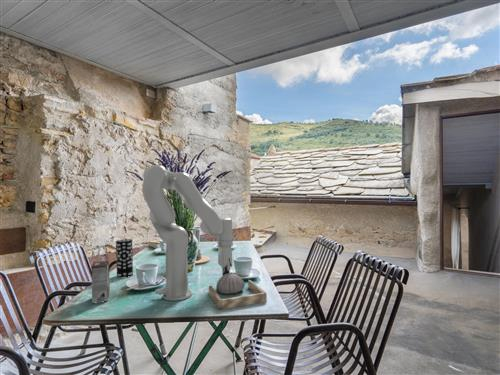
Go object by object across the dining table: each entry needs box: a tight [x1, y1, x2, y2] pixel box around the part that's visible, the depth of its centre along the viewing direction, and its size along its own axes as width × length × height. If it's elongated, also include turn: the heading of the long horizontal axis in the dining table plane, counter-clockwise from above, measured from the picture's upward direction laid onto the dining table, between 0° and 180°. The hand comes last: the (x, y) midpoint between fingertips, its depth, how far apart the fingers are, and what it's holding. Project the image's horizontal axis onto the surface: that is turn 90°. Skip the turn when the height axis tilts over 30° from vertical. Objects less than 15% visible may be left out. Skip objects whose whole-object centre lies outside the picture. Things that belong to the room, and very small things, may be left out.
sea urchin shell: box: [216, 272, 246, 295], centre depth 136 cm, size 13×14×8 cm
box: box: [208, 279, 268, 310], centre depth 128 cm, size 20×19×4 cm
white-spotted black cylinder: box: [115, 238, 134, 278], centre depth 164 cm, size 8×8×20 cm
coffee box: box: [90, 260, 111, 304], centre depth 129 cm, size 9×6×16 cm
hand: (226, 279), depth 144 cm, fingers closed
